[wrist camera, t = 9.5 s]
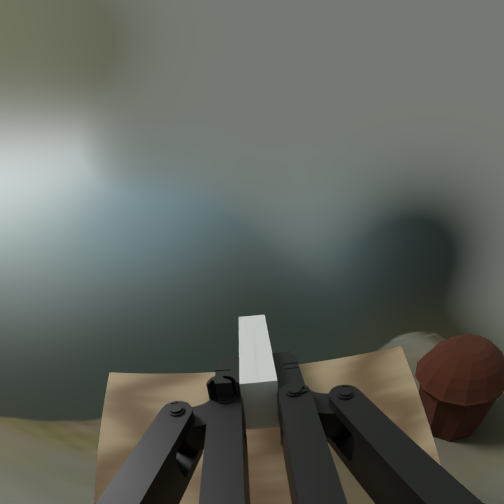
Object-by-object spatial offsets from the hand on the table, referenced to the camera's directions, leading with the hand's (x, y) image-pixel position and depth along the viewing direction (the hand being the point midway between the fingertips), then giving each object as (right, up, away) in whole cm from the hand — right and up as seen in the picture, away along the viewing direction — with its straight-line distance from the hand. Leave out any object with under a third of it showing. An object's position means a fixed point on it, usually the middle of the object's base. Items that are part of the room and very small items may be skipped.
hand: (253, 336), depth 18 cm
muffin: (+23, -14, +8) cm, 28 cm away
